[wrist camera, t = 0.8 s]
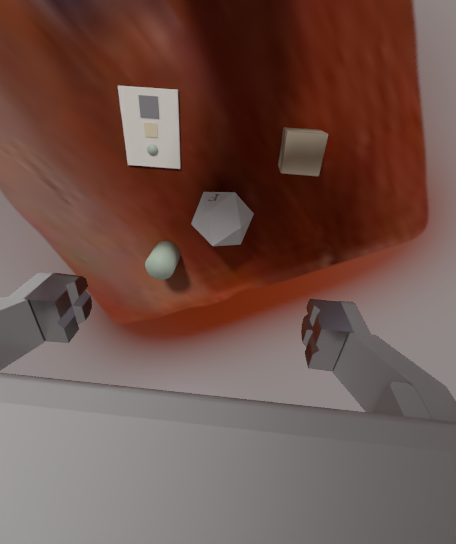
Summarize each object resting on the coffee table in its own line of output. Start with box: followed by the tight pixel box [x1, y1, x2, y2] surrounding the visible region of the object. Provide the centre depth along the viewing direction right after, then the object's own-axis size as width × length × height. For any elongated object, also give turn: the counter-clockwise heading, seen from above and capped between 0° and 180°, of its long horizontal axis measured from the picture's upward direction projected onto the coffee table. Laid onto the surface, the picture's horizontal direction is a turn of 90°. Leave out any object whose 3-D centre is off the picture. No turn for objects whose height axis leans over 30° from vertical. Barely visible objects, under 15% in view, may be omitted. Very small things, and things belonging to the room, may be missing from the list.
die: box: [191, 192, 254, 246], centre depth 42 cm, size 8×9×10 cm
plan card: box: [118, 86, 181, 169], centre depth 39 cm, size 10×8×1 cm
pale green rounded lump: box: [145, 241, 180, 280], centre depth 48 cm, size 5×5×5 cm
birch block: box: [278, 127, 328, 176], centre depth 37 cm, size 5×5×5 cm
